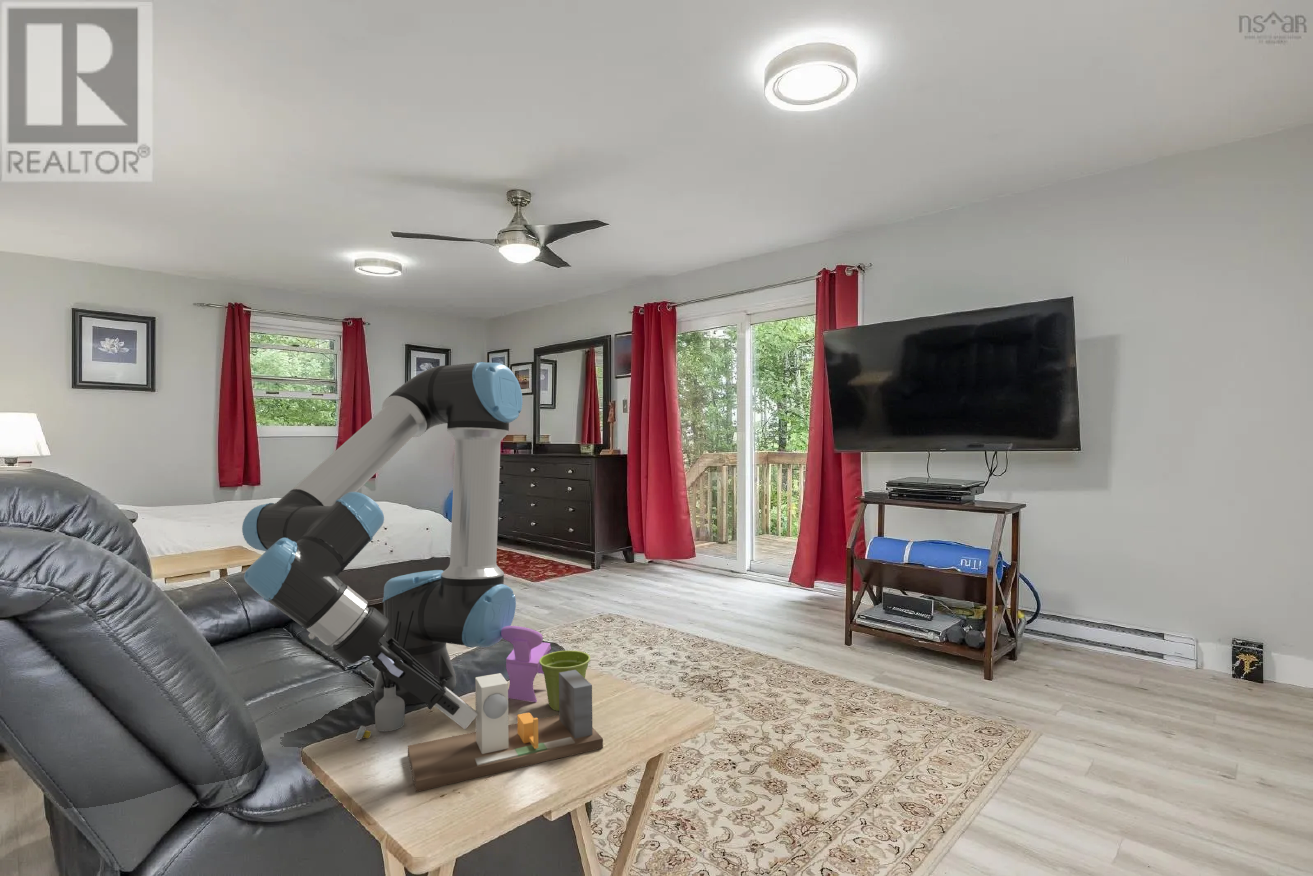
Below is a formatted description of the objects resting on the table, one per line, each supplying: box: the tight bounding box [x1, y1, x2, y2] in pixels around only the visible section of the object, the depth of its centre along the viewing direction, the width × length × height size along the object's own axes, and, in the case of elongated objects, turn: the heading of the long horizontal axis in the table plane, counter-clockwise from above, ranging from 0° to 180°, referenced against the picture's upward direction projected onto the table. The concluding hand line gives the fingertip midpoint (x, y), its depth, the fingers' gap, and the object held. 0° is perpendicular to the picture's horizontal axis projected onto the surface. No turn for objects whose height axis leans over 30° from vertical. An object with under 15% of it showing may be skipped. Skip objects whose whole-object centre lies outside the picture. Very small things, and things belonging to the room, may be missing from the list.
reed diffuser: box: [355, 611, 414, 740], centre depth 108 cm, size 10×7×20 cm
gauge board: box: [407, 670, 604, 793], centre depth 101 cm, size 12×28×10 cm, turn 116°
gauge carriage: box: [474, 672, 509, 754], centre depth 100 cm, size 6×4×10 cm
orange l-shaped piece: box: [516, 712, 539, 749], centre depth 101 cm, size 8×2×5 cm, turn 26°
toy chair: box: [501, 625, 552, 703], centre depth 123 cm, size 8×9×15 cm
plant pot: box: [539, 650, 591, 712], centre depth 119 cm, size 9×9×9 cm
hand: (470, 720), depth 98 cm, fingers closed
